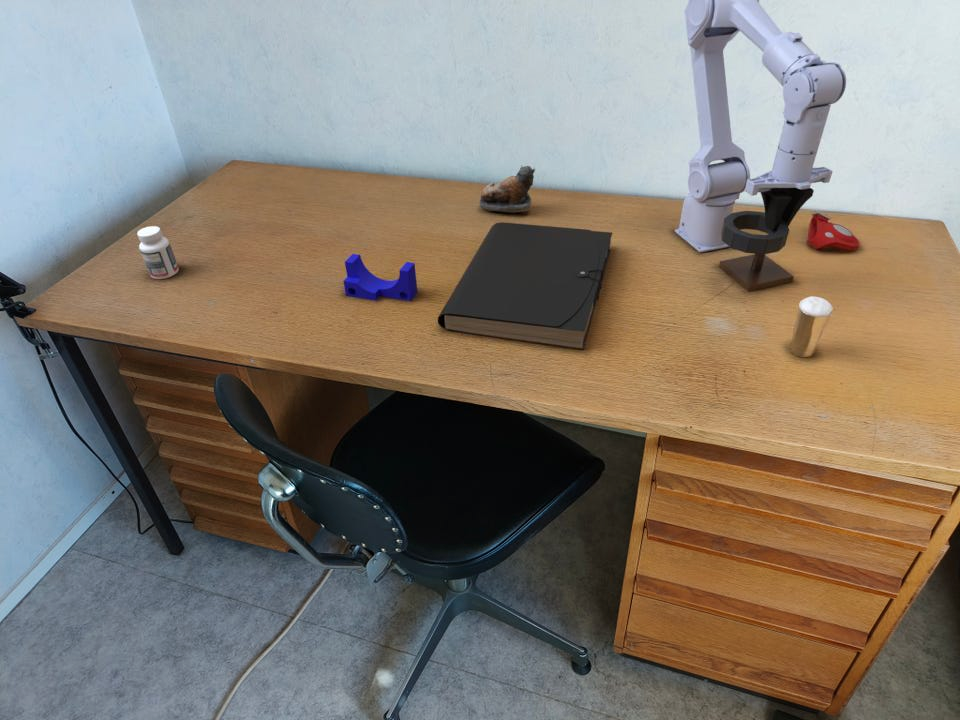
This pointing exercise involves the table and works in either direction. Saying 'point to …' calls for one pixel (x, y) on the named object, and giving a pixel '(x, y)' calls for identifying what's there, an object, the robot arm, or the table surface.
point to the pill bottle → (157, 253)
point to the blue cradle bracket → (378, 282)
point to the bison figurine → (509, 193)
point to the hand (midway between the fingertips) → (775, 227)
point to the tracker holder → (830, 233)
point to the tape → (752, 241)
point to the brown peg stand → (755, 272)
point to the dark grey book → (531, 285)
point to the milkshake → (810, 325)
